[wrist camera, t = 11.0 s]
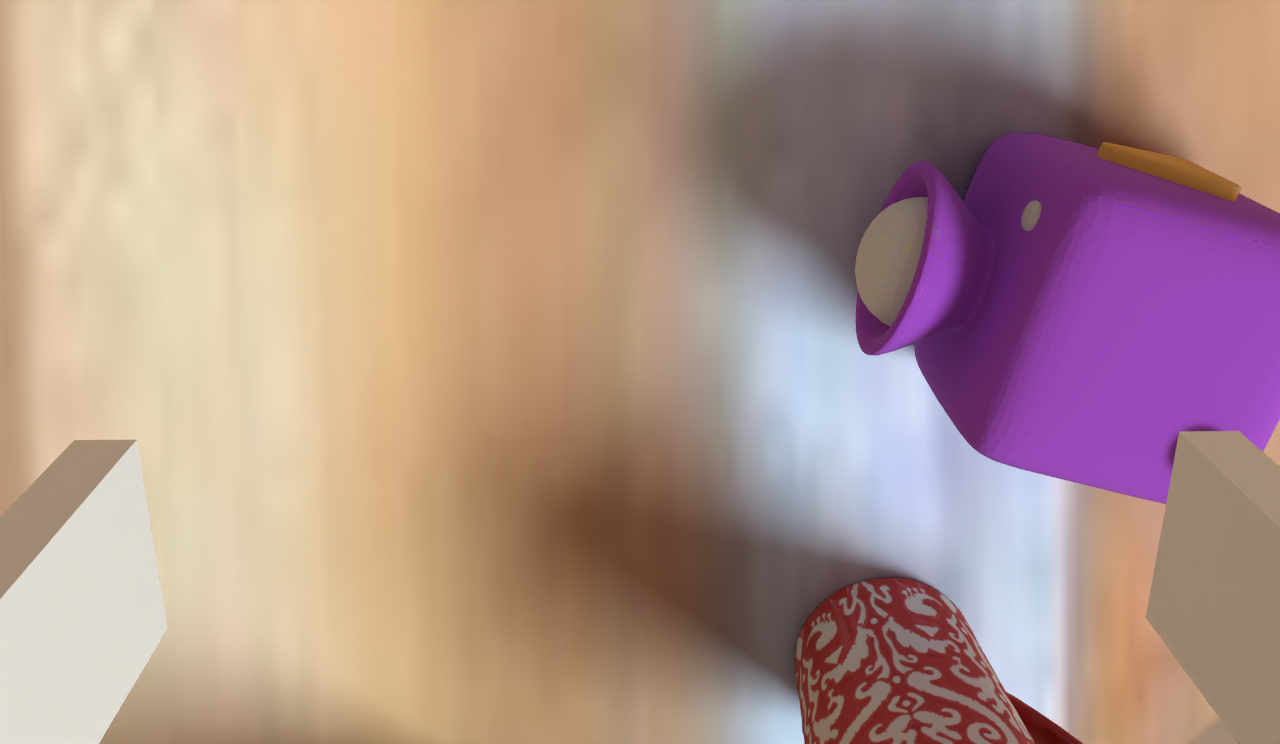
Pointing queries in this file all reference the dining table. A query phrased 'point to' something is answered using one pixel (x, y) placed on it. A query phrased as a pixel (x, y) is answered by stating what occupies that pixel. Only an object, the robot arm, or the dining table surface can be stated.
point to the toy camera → (1080, 306)
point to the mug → (904, 674)
